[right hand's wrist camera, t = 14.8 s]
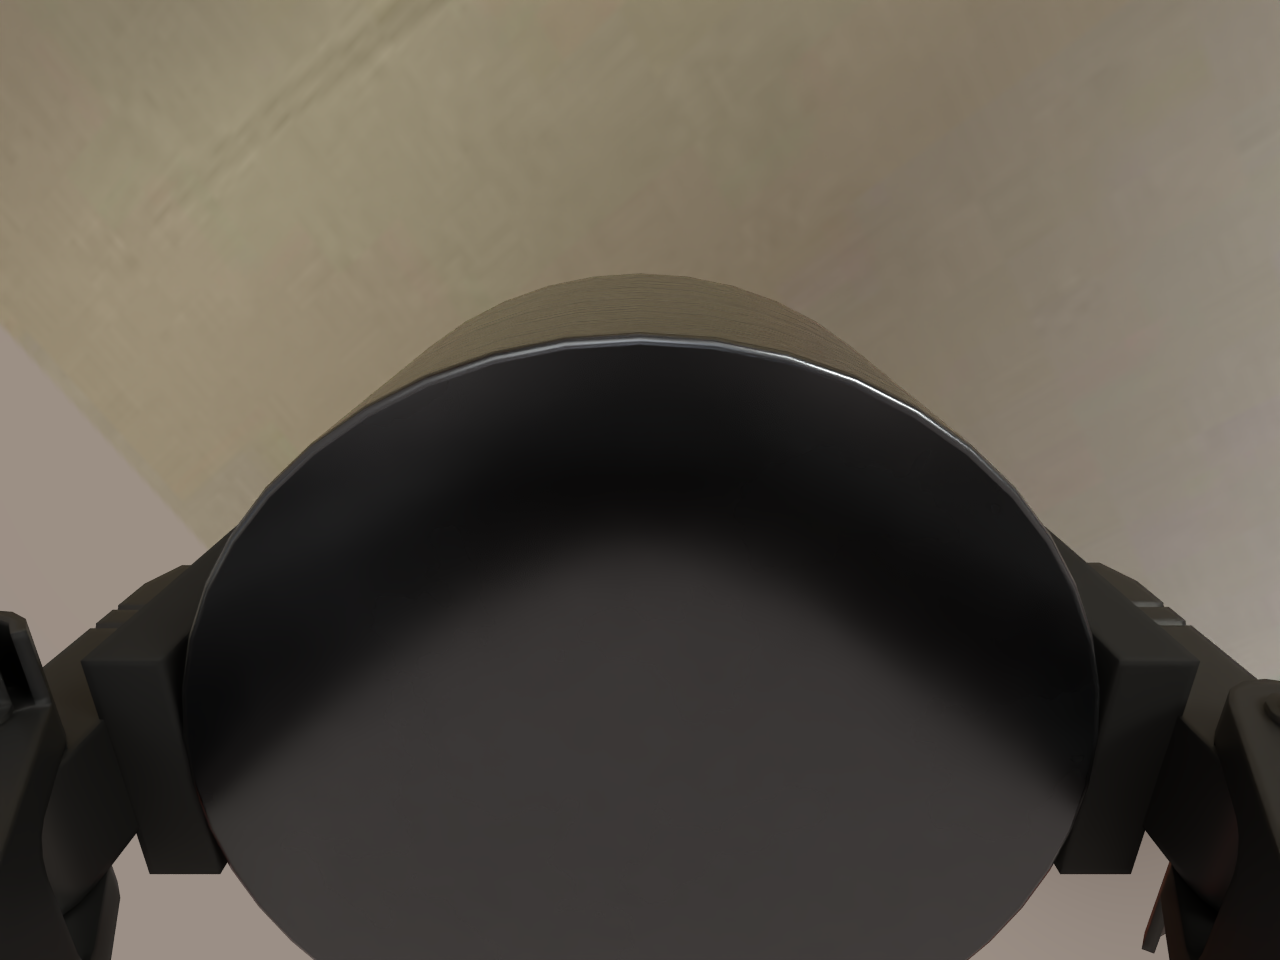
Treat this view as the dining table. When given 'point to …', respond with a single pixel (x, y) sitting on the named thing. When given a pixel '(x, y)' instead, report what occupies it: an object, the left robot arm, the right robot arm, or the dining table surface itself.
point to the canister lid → (640, 654)
